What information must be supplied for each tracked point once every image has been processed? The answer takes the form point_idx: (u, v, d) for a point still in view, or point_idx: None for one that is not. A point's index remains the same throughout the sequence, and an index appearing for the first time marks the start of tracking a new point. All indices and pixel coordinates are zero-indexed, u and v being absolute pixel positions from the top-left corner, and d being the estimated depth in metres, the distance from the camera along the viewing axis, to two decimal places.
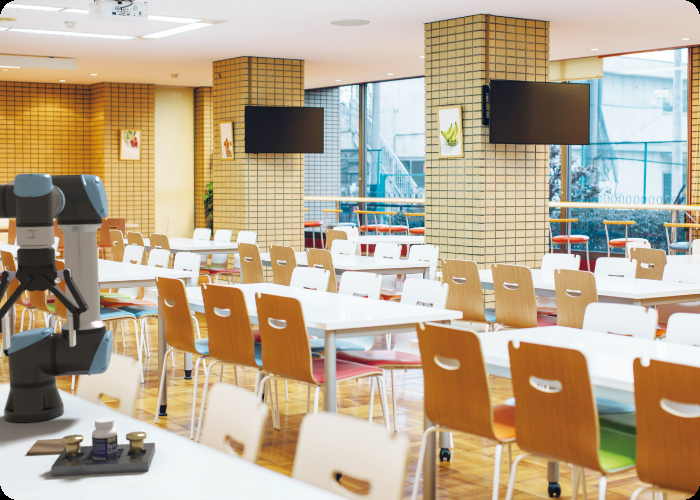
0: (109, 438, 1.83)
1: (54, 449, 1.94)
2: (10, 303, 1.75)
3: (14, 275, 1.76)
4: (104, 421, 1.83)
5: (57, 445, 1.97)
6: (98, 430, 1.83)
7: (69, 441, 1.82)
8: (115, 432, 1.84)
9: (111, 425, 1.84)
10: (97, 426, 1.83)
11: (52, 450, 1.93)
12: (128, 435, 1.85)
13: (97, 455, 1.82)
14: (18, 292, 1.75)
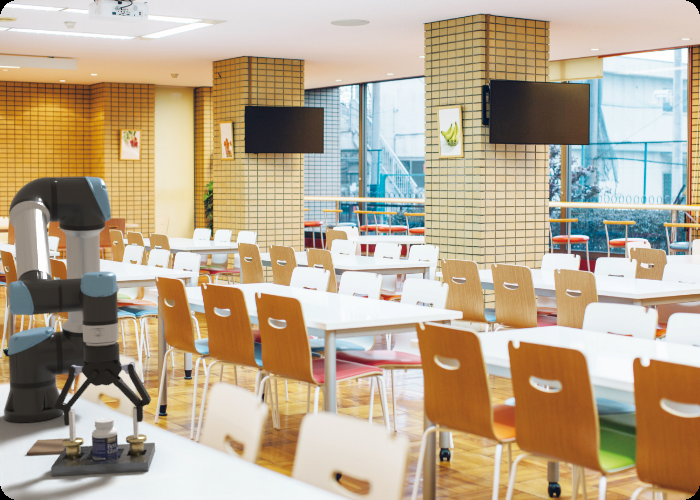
0: (109, 438, 1.83)
1: (54, 449, 1.94)
2: (77, 397, 1.82)
3: (80, 370, 1.82)
4: (104, 421, 1.83)
5: (57, 445, 1.97)
6: (98, 430, 1.83)
7: (69, 444, 1.82)
8: (115, 432, 1.84)
9: (111, 425, 1.84)
10: (97, 426, 1.83)
11: (52, 450, 1.93)
12: (128, 438, 1.85)
13: (97, 455, 1.82)
14: (85, 387, 1.82)
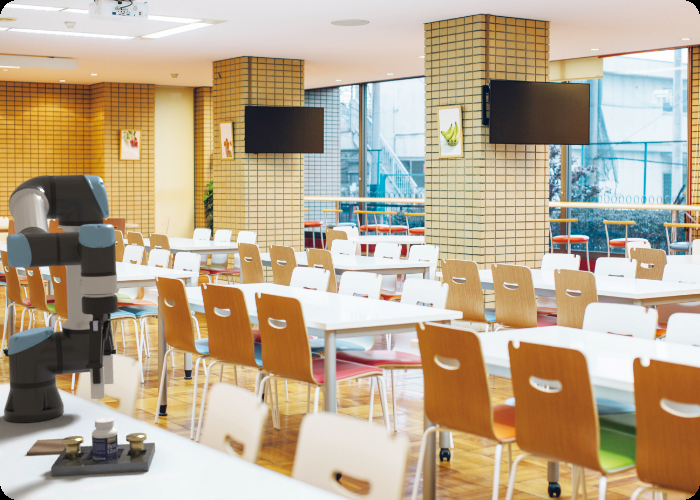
0: (109, 438, 1.83)
1: (54, 449, 1.94)
2: None
3: None
4: (104, 421, 1.83)
5: (57, 445, 1.97)
6: (98, 430, 1.83)
7: (69, 442, 1.82)
8: (115, 432, 1.84)
9: (111, 425, 1.84)
10: (97, 426, 1.83)
11: (52, 450, 1.93)
12: (128, 436, 1.85)
13: (97, 455, 1.82)
14: None
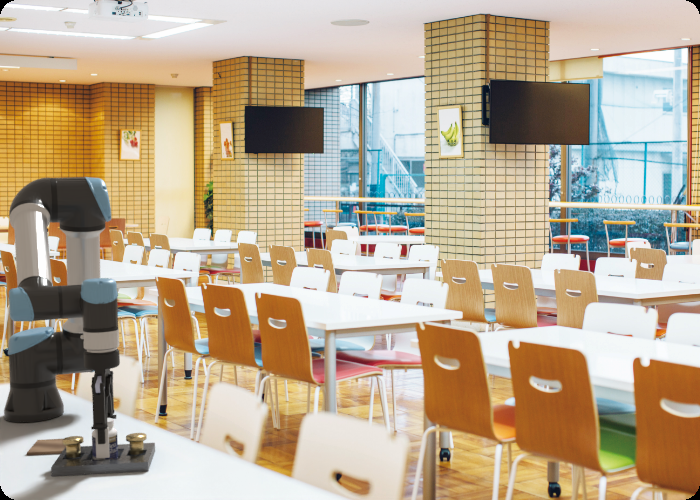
0: (109, 438, 1.83)
1: (54, 449, 1.94)
2: None
3: None
4: None
5: (57, 445, 1.97)
6: None
7: (69, 442, 1.82)
8: (115, 432, 1.84)
9: (111, 425, 1.84)
10: None
11: (52, 450, 1.93)
12: (128, 436, 1.85)
13: None
14: None
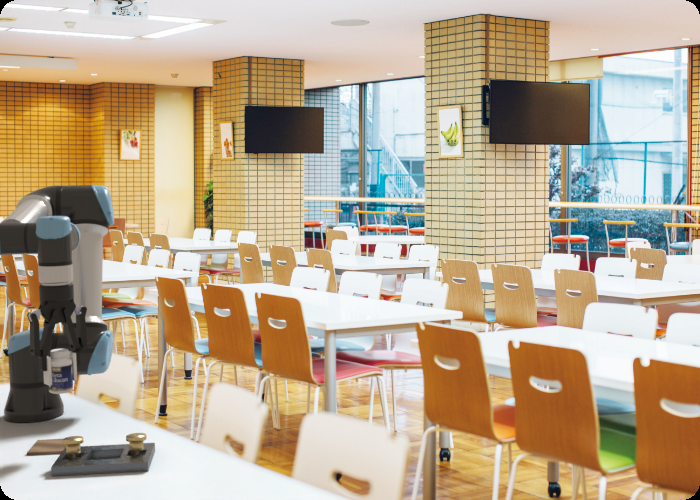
0: (53, 368, 1.92)
1: (54, 449, 1.94)
2: None
3: None
4: (55, 351, 1.93)
5: (57, 445, 1.97)
6: None
7: (69, 442, 1.82)
8: (61, 363, 1.92)
9: (58, 356, 1.92)
10: None
11: (52, 450, 1.93)
12: (128, 436, 1.85)
13: None
14: None
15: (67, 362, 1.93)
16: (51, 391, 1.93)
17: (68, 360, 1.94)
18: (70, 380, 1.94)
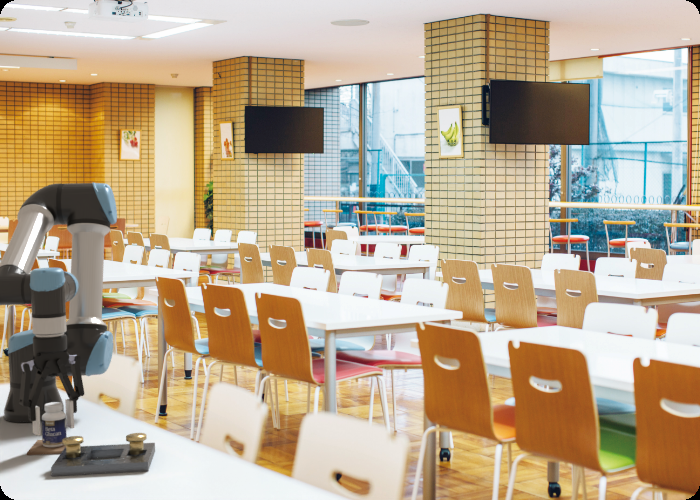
0: (46, 422, 1.94)
1: (54, 449, 1.94)
2: None
3: None
4: (49, 405, 1.96)
5: None
6: None
7: (69, 442, 1.82)
8: (55, 417, 1.95)
9: (52, 410, 1.95)
10: None
11: (52, 450, 1.93)
12: (128, 436, 1.85)
13: (42, 434, 1.96)
14: None
15: (60, 416, 1.95)
16: (44, 445, 1.95)
17: (62, 414, 1.96)
18: (63, 434, 1.96)
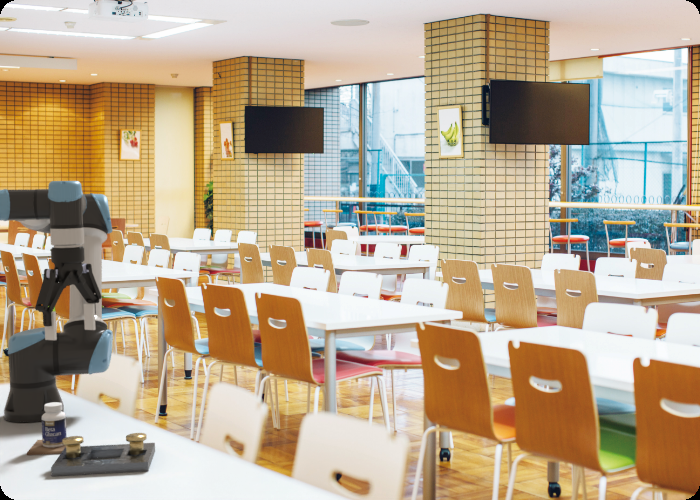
0: (46, 422, 1.94)
1: (54, 449, 1.94)
2: None
3: None
4: (49, 405, 1.96)
5: None
6: None
7: (69, 442, 1.82)
8: (54, 418, 1.94)
9: (52, 410, 1.95)
10: None
11: (52, 450, 1.93)
12: (128, 436, 1.85)
13: (42, 434, 1.96)
14: None
15: (60, 416, 1.95)
16: (44, 445, 1.95)
17: (61, 414, 1.96)
18: (63, 434, 1.96)
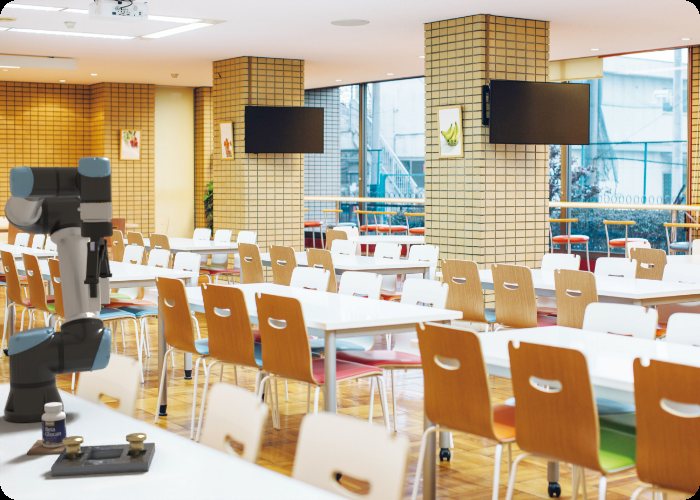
0: (46, 422, 1.94)
1: (54, 449, 1.94)
2: None
3: None
4: (49, 405, 1.96)
5: None
6: None
7: (69, 442, 1.82)
8: (54, 418, 1.94)
9: (52, 410, 1.95)
10: None
11: (52, 450, 1.93)
12: (128, 436, 1.85)
13: (42, 434, 1.96)
14: None
15: (60, 416, 1.95)
16: (44, 445, 1.95)
17: (62, 414, 1.96)
18: (63, 434, 1.96)
